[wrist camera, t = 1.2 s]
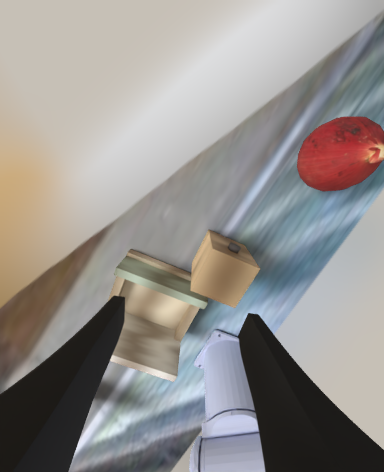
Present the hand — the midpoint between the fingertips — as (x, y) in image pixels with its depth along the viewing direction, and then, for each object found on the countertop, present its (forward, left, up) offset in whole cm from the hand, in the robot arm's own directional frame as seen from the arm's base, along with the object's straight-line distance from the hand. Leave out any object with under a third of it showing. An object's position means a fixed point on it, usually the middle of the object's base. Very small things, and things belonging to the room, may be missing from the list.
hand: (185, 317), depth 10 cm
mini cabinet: (-4, 0, -13) cm, 13 cm away
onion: (-8, -14, -13) cm, 20 cm away
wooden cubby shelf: (+1, +9, -13) cm, 16 cm away
